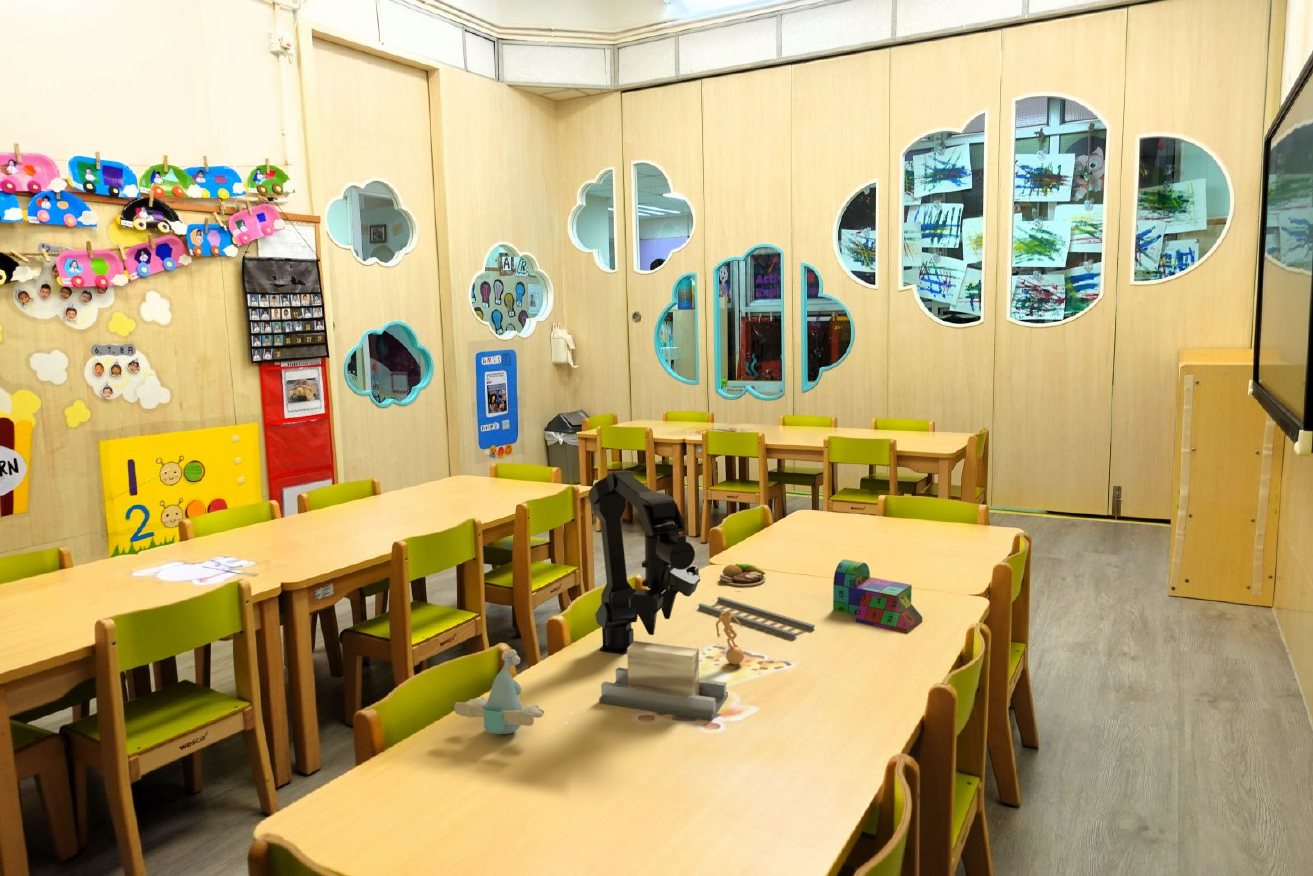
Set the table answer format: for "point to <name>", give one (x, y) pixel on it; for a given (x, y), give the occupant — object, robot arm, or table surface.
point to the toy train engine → (873, 598)
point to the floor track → (665, 697)
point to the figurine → (730, 638)
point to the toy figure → (501, 703)
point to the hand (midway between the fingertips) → (659, 626)
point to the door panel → (663, 667)
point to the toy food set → (742, 575)
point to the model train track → (757, 624)
